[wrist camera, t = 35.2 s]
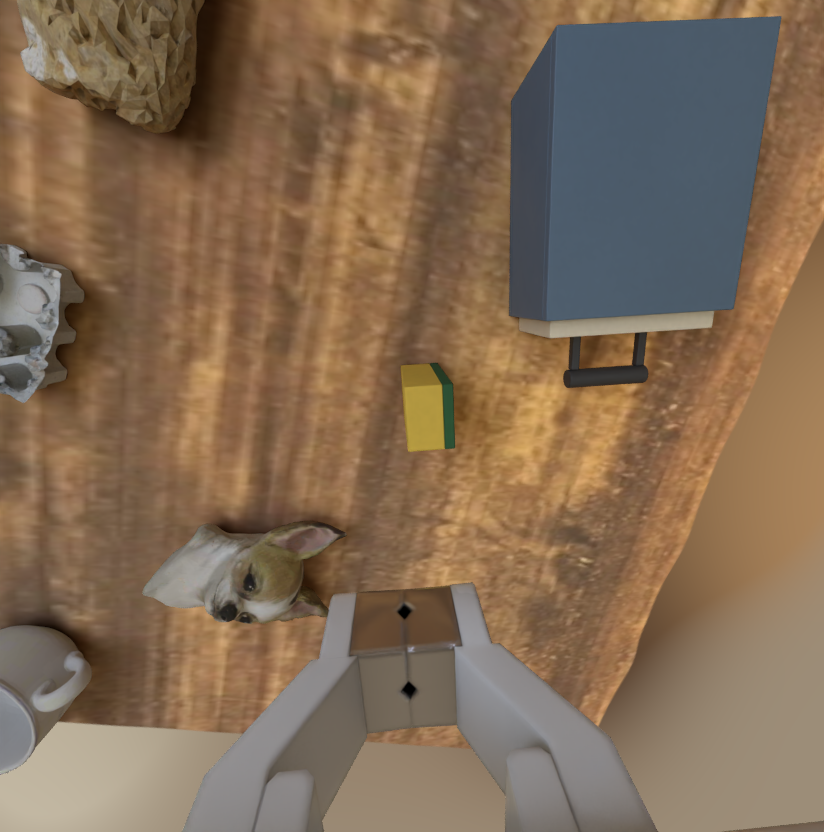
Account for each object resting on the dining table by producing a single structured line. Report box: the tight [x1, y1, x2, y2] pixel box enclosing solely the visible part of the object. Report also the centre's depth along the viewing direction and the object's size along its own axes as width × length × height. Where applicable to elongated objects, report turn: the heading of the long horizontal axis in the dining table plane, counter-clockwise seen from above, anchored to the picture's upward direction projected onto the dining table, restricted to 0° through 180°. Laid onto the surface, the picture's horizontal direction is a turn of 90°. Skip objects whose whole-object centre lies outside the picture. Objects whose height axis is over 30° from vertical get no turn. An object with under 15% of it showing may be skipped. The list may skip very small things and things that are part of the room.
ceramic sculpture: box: [143, 521, 347, 624], centre depth 35 cm, size 11×9×15 cm
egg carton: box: [0, 244, 84, 403], centre depth 30 cm, size 11×8×4 cm
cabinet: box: [509, 16, 781, 321], centre depth 28 cm, size 15×12×8 cm
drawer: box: [519, 311, 714, 388], centre depth 29 cm, size 19×11×7 cm, turn 3°
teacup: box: [0, 625, 92, 775], centre depth 37 cm, size 14×11×8 cm
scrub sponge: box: [401, 363, 455, 452], centre depth 31 cm, size 4×3×9 cm
